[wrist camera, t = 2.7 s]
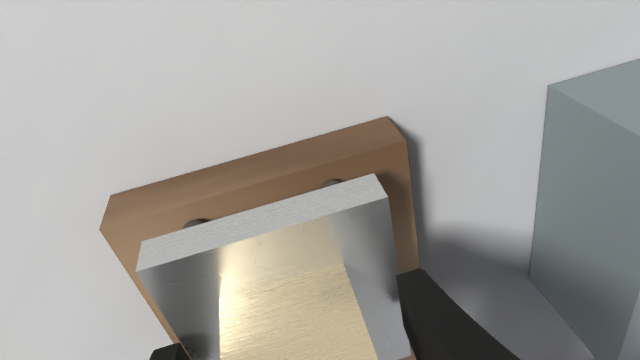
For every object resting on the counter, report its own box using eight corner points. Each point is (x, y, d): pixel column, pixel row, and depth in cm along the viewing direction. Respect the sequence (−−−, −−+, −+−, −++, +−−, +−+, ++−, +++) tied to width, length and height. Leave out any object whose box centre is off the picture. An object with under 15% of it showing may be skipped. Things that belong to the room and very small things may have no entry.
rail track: (421, 382, 20) (442, 429, 19) (255, 436, 20) (259, 490, 18) (387, 116, 13) (416, 153, 11) (110, 195, 12) (92, 247, 10)
